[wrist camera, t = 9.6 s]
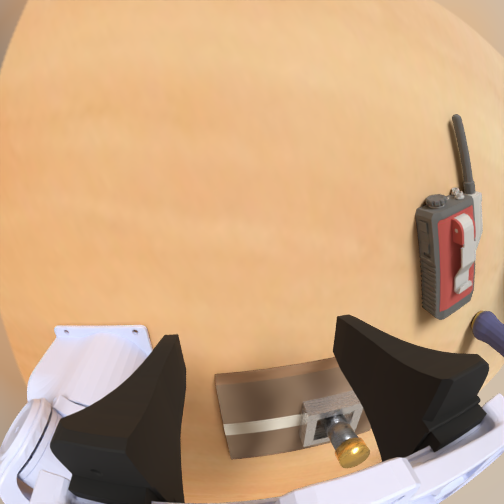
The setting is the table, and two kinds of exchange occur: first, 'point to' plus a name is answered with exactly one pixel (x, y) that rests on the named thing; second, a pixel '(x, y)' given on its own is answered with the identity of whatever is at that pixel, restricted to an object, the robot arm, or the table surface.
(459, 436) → the robot arm
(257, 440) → the board
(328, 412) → the pilot socket
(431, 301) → the walkie-talkie
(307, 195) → the table surface
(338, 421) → the gold-capped cylinder
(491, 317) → the rubber mallet
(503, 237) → the table surface
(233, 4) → the table surface
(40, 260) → the table surface
